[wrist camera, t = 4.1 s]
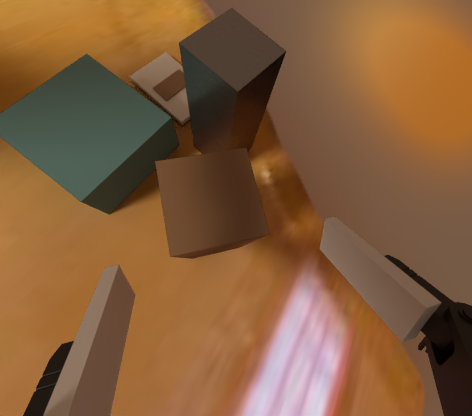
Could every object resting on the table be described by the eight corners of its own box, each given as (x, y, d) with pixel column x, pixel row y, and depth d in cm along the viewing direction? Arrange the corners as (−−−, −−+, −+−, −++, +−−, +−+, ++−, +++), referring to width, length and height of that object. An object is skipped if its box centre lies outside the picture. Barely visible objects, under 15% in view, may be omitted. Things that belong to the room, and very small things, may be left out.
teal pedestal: (33, 153, 22) (-16, 124, 17) (110, 93, 25) (86, 53, 20) (110, 214, 21) (80, 201, 17) (179, 145, 24) (171, 117, 20)
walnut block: (192, 258, 21) (170, 256, 9) (184, 213, 22) (155, 161, 11) (238, 247, 22) (269, 233, 10) (228, 204, 23) (246, 147, 11)
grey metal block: (194, 146, 24) (179, 42, 13) (222, 121, 26) (231, 7, 14) (224, 173, 24) (237, 91, 12) (251, 146, 25) (286, 51, 14)
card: (131, 80, 25) (128, 74, 25) (166, 56, 27) (165, 50, 26) (182, 125, 25) (181, 121, 24) (215, 98, 26) (215, 93, 26)
